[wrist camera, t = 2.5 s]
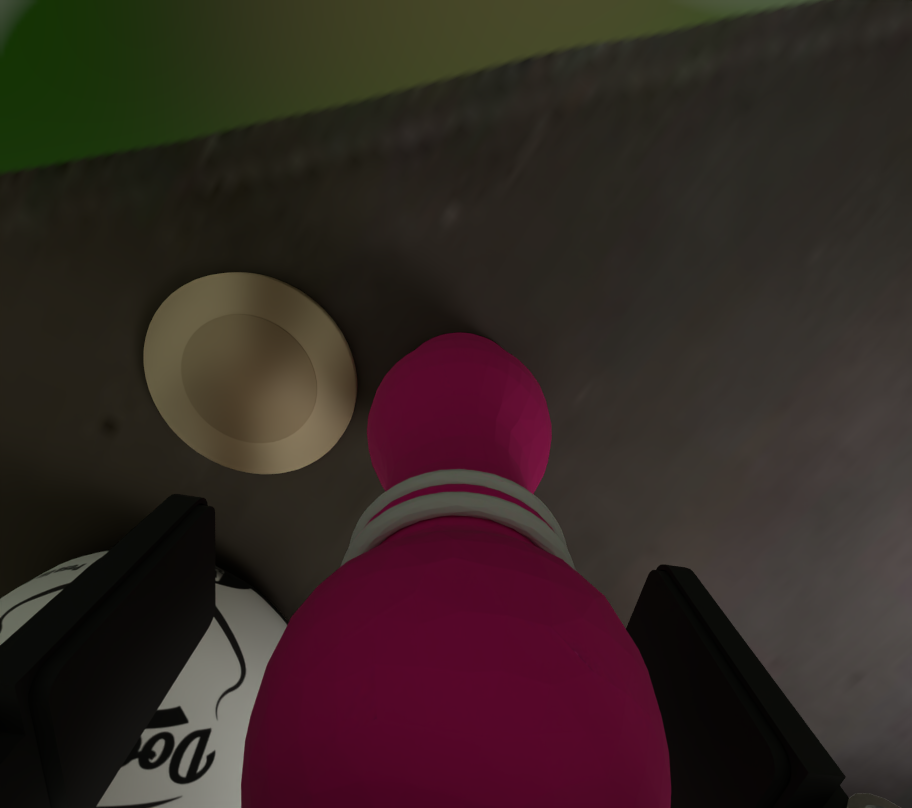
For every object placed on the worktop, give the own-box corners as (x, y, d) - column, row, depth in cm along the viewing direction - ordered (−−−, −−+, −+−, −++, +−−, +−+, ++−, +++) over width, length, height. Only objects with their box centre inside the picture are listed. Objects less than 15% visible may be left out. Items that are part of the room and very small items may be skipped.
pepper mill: (362, 353, 21) (-495, 1288, 2) (504, 298, 20) (1193, 1116, 1) (420, 477, 23) (247, 1460, 4) (550, 433, 22) (1037, 1448, 3)
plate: (368, 294, 20) (365, 296, 19) (347, 482, 23) (344, 489, 23) (145, 252, 19) (134, 252, 19) (157, 451, 23) (148, 457, 22)
